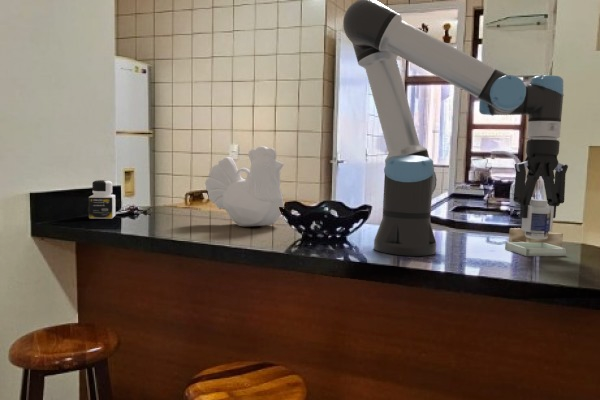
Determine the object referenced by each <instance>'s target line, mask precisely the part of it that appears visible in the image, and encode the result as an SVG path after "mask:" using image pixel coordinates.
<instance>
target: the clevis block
mask: <svg viewBox="0 0 600 400" xmlns="http://www.w3.org/2000/svg"><path fill="white" fill-rule="evenodd" d="M521 228H522V227H521ZM521 228H520V227H517V228H516V227H514V228H512V227H511V228H509V232H508V234H509V235H508V242H544V243H547V244H551V245H554V246H558V247H562V248H563V240H564V238H563V236H564V233H561V232H548V238H547V239H532V238H527V237H526V236H525V231H523V230H521Z"/></svg>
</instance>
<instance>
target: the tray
mask: <svg viewBox="0 0 600 400" xmlns="http://www.w3.org/2000/svg"><path fill="white" fill-rule="evenodd" d="M504 250H507V251H510V252H512V253H515V254H518V255H522V256H525V257H566V254H567V248H565V247H563V246H562V247H558V246H554V245H551V244H547V243H544V242H509V241H507V242H505V243H504Z"/></svg>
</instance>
